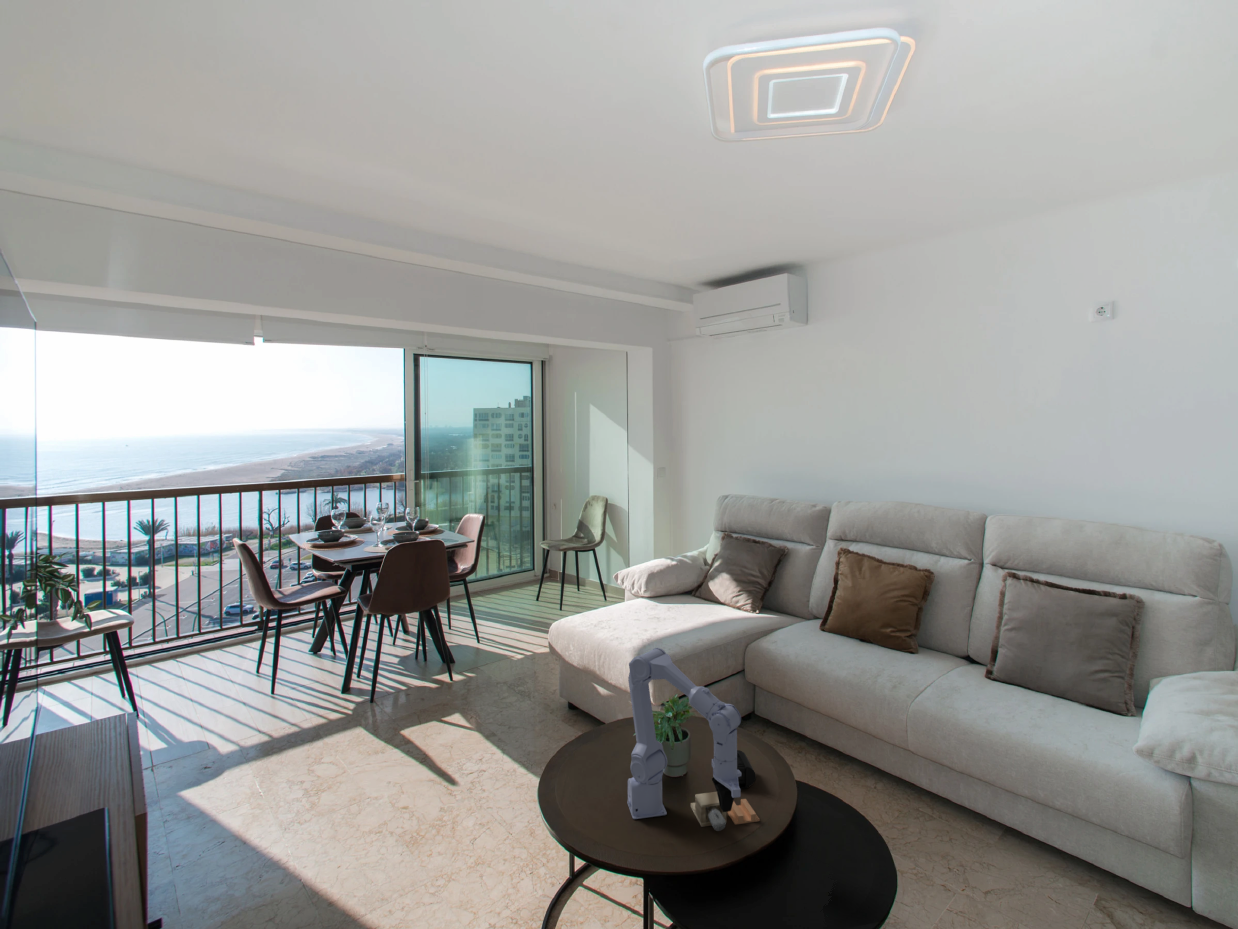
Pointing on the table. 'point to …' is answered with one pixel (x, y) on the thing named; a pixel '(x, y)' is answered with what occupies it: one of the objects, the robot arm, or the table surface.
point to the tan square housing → (702, 803)
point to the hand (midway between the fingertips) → (725, 809)
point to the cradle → (742, 813)
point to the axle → (715, 818)
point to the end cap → (745, 771)
